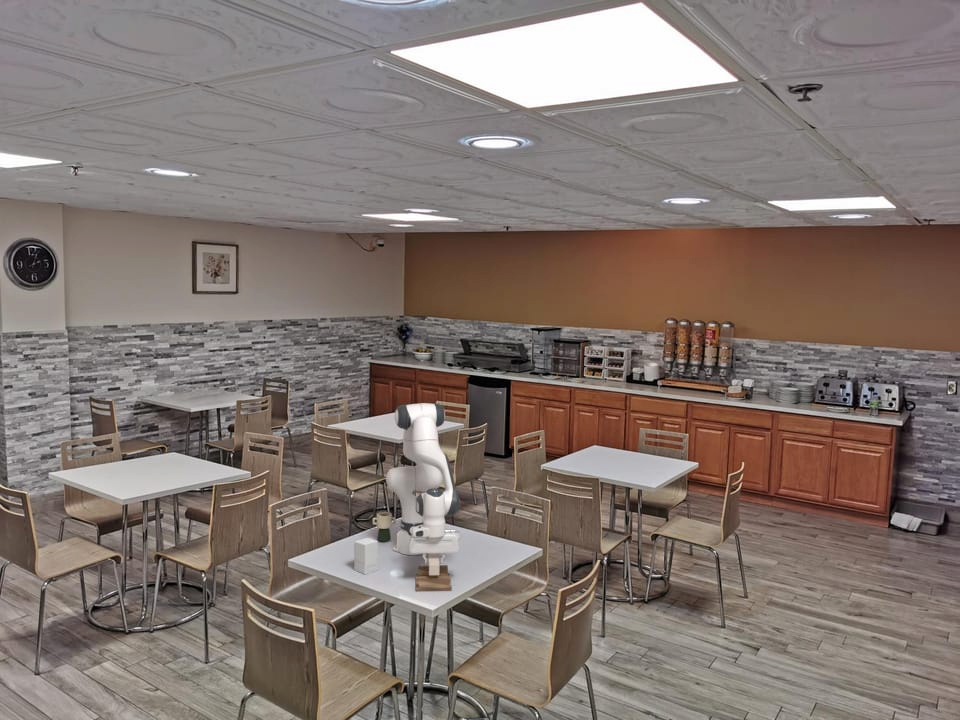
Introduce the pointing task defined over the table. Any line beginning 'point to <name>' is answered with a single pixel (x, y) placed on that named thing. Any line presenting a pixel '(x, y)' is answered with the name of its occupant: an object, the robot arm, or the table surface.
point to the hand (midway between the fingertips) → (433, 563)
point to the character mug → (384, 525)
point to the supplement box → (366, 555)
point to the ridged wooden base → (433, 579)
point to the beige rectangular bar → (433, 564)
